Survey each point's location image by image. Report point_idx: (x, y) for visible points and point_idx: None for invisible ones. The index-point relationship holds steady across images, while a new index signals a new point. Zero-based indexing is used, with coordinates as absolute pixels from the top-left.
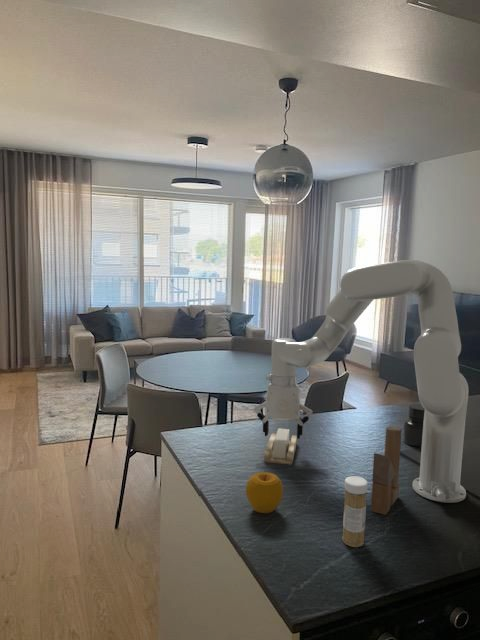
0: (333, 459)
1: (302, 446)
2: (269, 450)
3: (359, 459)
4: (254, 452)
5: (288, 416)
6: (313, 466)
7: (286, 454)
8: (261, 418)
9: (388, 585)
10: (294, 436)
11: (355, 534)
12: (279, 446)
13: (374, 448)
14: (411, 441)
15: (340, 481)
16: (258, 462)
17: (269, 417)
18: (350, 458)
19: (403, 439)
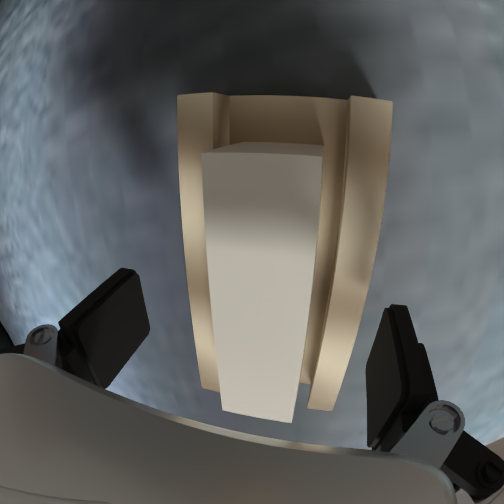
0: (63, 218)
1: (188, 336)
2: (355, 146)
3: (19, 234)
4: (437, 245)
5: (48, 410)
6: (108, 118)
7: None
8: (463, 448)
9: None
10: (211, 379)
11: None
12: (268, 149)
13: (24, 312)
14: None
15: (40, 38)
16: (411, 96)
17: (398, 460)
18: (34, 237)
19: (10, 344)
